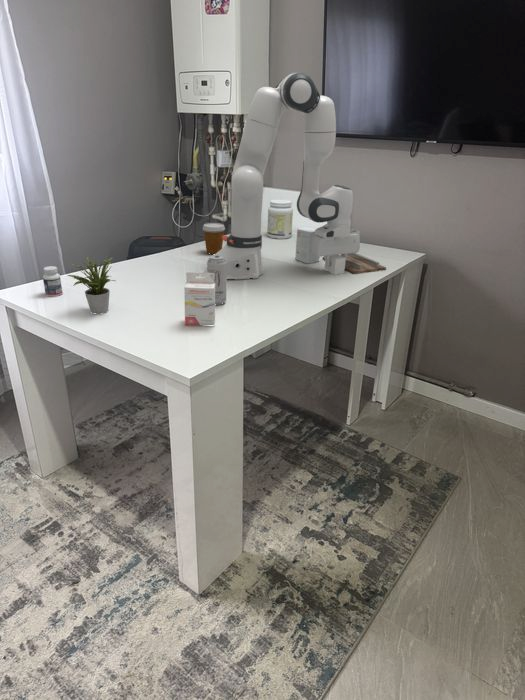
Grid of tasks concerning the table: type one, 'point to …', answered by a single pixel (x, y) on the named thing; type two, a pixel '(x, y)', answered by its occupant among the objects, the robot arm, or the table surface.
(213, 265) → the energy drink can
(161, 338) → the table surface
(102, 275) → the house plant
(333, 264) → the module block
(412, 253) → the table surface
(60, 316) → the table surface
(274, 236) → the supplement tub
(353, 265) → the brown flat wooden board
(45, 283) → the pill bottle
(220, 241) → the disposable coffee cup
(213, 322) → the ink cartridge box
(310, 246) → the small box
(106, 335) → the table surface
